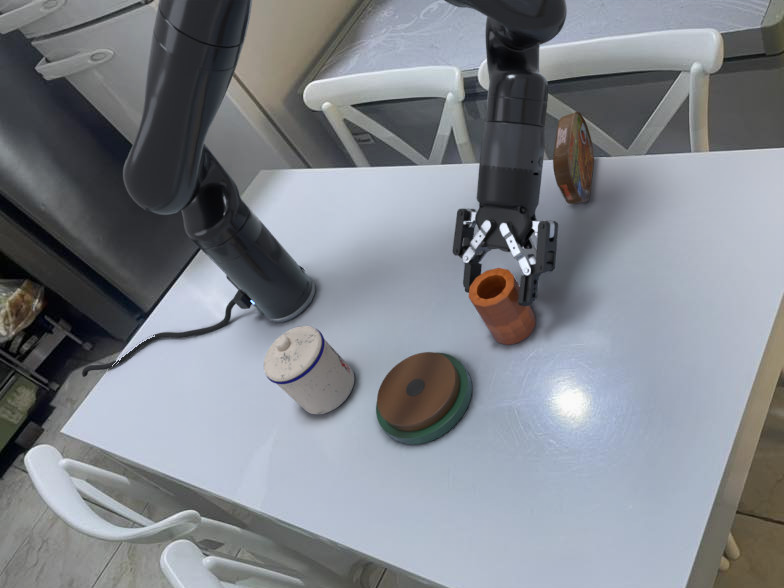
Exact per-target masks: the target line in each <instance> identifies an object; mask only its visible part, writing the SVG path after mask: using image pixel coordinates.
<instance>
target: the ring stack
mask: <svg viewBox="0 0 784 588" xmlns="http://www.w3.org/2000/svg"><path fill="white" fill-rule="evenodd" d="M472 394H473V383H472V378H471V376H470V374H469V372H468V370H467V369H466V368H465V366H464V365H463V363H462V361H460V360H459V359H458V358H456V357H455V356H453V355H451V354H448V353H445V352H437V351H436V352H433V351H425V352H419V353H416V354H412V355H410V356H408V357H406V358H404V359H403V360H401V361H400V362H398V363H397V364H395V366H393V367H392V368H391V370H389V372H388V373H387V374H386V376H385V377H384V378H383V379H382V382H381V383H380V386H379V388H378V392H377V396H376V405H375V415H376V419H377V423H378V424H379V426H380V427H381V429H382V430H383V431H384V432H385V433H386V434H387V435H388V436H389V437H390V438H391V439H392V440H394V441H396V442H398V443H401V444H405V445H422V444H426V443H429V442H432V441H435V440H437V439H439V438H441V437H442V436H444V435H445V434H447V433H448V432H449V431H451V429H453V428H454V427H455V426H456V425H457V424H458V423H459V421H461V419H462V418H463V416H464V415H465V413H466V411H467V410H468V407H469V405H470V402H471V400H472Z"/></svg>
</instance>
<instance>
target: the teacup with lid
mask: <svg viewBox="0 0 784 588" xmlns="http://www.w3.org/2000/svg"><path fill="white" fill-rule="evenodd" d="M263 371H264V374H265V376H266V378H267V380H269V381H270V382H271V383H273V384H275V385H277V386H278V387H279V388H280V389H281V390H282V391H284V392H285V393H286V394H287V395H288V396H289V397H291V399H292V400H293V401H294V402H296V403H297V404H298V405H299V406H300V407H301V408H302V409H303V410H304V411H306V412H307V413H309V414H312V415H324V414H327V413H330V412H332V411H334V410H336V409H337V408H339V407H340V406H341V405H342V404H343V403H344V402H345V401H347V398H348V397H349V396H350V394H351V392H352V390H353V388H354V385H355V373H354V371H353V369H352V367H351V366H350V364H348V363H347V361H345V359H344V358H343V357H342V356H341V355H340V354H339V353H338V352H337V351H336V350H335V348H333V347H332V345H331V344H330V343H329V342H328V341H327V340H326V339H325V337H324V335H323V333H322V332H321V331H320V330H319V329H317V328H315V327H312V326H309V325H301V326H296V327H293V328H290V329H289V330H287V331H285V332H284V333H282V334H281V335H280V336H278V337H276V339H275V340H274V341H273V343H272V344H271V345H270V347H269V348H268V349H267V352H266V354H265V356H264V360H263Z"/></svg>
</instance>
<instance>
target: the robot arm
mask: <svg viewBox="0 0 784 588" xmlns="http://www.w3.org/2000/svg"><path fill="white" fill-rule="evenodd" d="M443 1H444V2H446V3H448V4H449V5H451V6H454V7H455V8H461V9H472V10H475V11H477V12H479V13H481V14H482V15H484V16H485V17H486V19H485V20H486V21H485V51H486V52H485V53H486V54H485V55H486V68H487V74H488V89H487V98H486V99H487V100H486V109H485V119H484V120H485V123H484V128H483V132H482V136H481V142H480V153H479V166H478V175H477V176H478V177H477V187H476V188H477V189H476V201H477V202H478V206H479V207H478V209H477V210H476V209H475V208H458V209H457V212H456V219H455V228H454V234H453V242H452V250H451V251H452V254H453V256H455V257H459V258H460V259H461V260H462V261H463V263H464V267H463V280H462V284H463V288H464V291H465V293H467V294H469V288H470V286H471V284H472V283H473V281H474V280H475V278H476V277H478V276H479V275H481V274H482V269H483V263H481V261H482V260H483V259H484V258H485V256H486V255H487V254H488V252H490V251H492V250H500V251H502V252H504V253H511V254H512V257H513V259H514V260H516V261H517V262H518V265H519V267H520V270H521V271H522V273H523V274H521V275H520V280H519V281H520V282H519V286H520V290H519V299H518V304H519V305H520V306H530V307H531V306H532V305H533V304H534V302H536V300H537V298H538V290H539V289H538V288H539V281H540V276H541V275H542V274H545V273H551V272H554V271H555V270H556V267H557V266H556V264H557V251H558V237H559V235H558V234H559V223H558V222H557V221H556V220H551V219H550V220H538V219H537V216H536V210H537V209H538V206H539V204H540V195H541V185H542V178H543V177H542V175H543V165H544V157H545V129H546V128H545V127H546V120H547V119H546V118H547V110H548V101H549V85H548V80H547V78H546V77H545V76H544V75H543V74H542V73H540V47H541V45H543V44H546V43H548V42H550V41H551V40H553V39H554V38H555V37H557V36H558V35H559V34H560V33H561V31H562V29H563V28H564V25H565V23H566V20H567V17H568V16H567V14H568V7H567V6H568V5H567V0H443ZM252 6H253V0H158V6H157V10H156V14H155V19H154V24H153V30H152V36H151V44H150V49H149V50H150V52H149V58H148V64H147V72H146V81H145V90H144V101H143V109H142V115H141V118H140V119H141V120H140V122H139V126H138V129H137V131H136V135H135V138H134V141H133V143H132V146H131V147H130V150H129V152H128V155H127V157H126V159H125V162H124V165H123V167H122V168H123V169H122V179H123V183H124V187H125V189H126V191H127V194H128V195H129V196H130V198H131V199H132V200H133V201H134V203H136V204H137V206H139V207H140V208H142V209H143V210H144V211H146V212H149V213H151V214H154V215H159V216H161V215H162V216H169V215H173V214H176V213H179V212H181V215H182V219H183V227H184V231H185V233H186V235H187V236H188V238H189V239H190V240H191V241H192V242H193V244H195V245H196V246H197V247H198V248H199V249H200V250H201V252H203V253H204V254H205V255H206V256H207V257H208V259H210V260H211V261H212V262H213V263H214V264H215V266H217V267H218V268H219V269H220V271H222V272H223V273H224V274H225V275H226V276H225V277H226V279H227V280H228V281H229V282H230V283H231V285H233V287H235V289H237V291H236V293H235V295H234V296H233V298H232V299H231V300H230V301H229V302H228V303H227V305H226V307H225V314H224V318H223V319H222V320H221V321H220V322H218V323H216V324H214V325H211V326H207V327H203V328H198V329H191V330H186V331H181V332H173V331H172V332H171V331H164V332H158V333H155V334H153V336H154V335H155V337H152V338H150V339H147V340H146V341H144V342H142V343H141V344H139V345H138V346H137V347H135V348H134V349H133V350H132V351H130V352H129V353H128V354H126V355H125V356H124V357H122V358H121V360H120V361H119V360H118V361H117V362H116V360H117V359H115V360H113V361H110V362H108V363H104V364H92V365H87V366H85V367H84V368H83V369H82V371H81V376H82V378H85V377H87V376H88V374H89V372H91V371H103V370H108V369H109V370H110V369H112V368H114V367H116V366H118V365H120V364H121V363H124V361H126V360H127V359H129V358H130V357H131V356H133V355H134V354H135V353H136V352H138V351H139V350H140V349H142V348H143V347H145V346H146V345H148V344H150V343H151V342H153V341H156V340H159V339H162V338H175V339H180V338H182V339H183V338H189V337H192V336H199V335H204V334H209V333H212V332H215V331H217V330H220V329H221V328H223V327H225V326H226V325H227V324H228V323H229V322H230V321H231V318H232V310H233V309H234V306H235V305H237V306H238V307H239V308H240V309H241V310H249V309H251V307H252V306H253V307H254V308H255V309H256V310H257V311H258V312H259V313H260V314H261V315H262V316H265V317H266V318H267V319H268V320H269V321H270V322H273V323H284V322H285V323H286V322H288V321H291V320H292V319H294V318H296V317H298V316H299V315H301V313H303V312H304V311H305V310H307V308H308V307H309V305H311V303H312V301H313V299H314V297H315V294H316V284H315V282H314V281H313V279H312V278H311V277H310V276H308V275H307V271H306V269H304V267H303V266H301V265H300V264H298V262H297V261H296V260H295V259H294V258H293V257H292V256H291V254H290V253H289V252H288V251H287V250H286V248H284V246H283V245H282V244H281V243H280V241H278V239H277V238H276V237H275V236H274V235H273V234H272V233H271V231H270V229H268V228H267V227H266V225H265V224H264V223H263V222H262V220H260V219H259V217H258V216H257V215H256V214H255V212H254V211H253V210H252V209H251V208H250V207H249V206H248V205H247V204H246V203H245V201H244V200H243V198H242V196H241V194H240V193H241V192H240V189H239V188H238V185H237V184H236V182H235V181H234V179H233V178H232V176H231V175H230V174H229V173H228V171H227V170H226V169H225V167H224V166H223V165H222V164H221V162H220V161H219V160H218V159H217V157H216V156H215V155H214V153H213V152H212V151H211V150H210V148H209V147H208V146H207V145H206V144H205V141H206V138H207V136H208V132H209V130H210V128H211V126H212V124H213V121H214V120H215V118H216V115H217V114H218V111H219V109H220V107H221V105H222V102H223V100H224V98H225V96H226V94H227V92H228V89H229V87H230V84H231V82H232V79H233V77H234V75H235V72H236V69H237V66H238V63H239V61H240V57H241V54H242V49H243V47H244V44H245V41H246V36H247V32H248V28H249V24H250V18H251V12H252ZM476 226H477V228H478V231H477V232H476V234H475V230H476ZM533 234H534V236H535V237H536V246H535V244H534V241H533V239H532V236H533ZM115 362H116V363H115ZM118 362H119V363H118ZM114 363H115V364H114ZM117 363H118V364H117ZM113 364H114V365H113ZM116 364H117V365H116ZM112 365H113V367H112ZM115 365H116V366H115Z"/></svg>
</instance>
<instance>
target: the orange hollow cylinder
mask: <svg viewBox="0 0 784 588" xmlns="http://www.w3.org/2000/svg"><path fill="white" fill-rule="evenodd" d="M519 290H520V283H518V281H517V279H516V277H515V275H514V274H513V273H512V271H511V270H509V269H506V268H502V267H496V268H492V269H488V270H485V271H484V272H481V275H479V276H478V277H476V278H475V280H474V281H473V283H472V284H471V286H470V288H469V293H468V299H469V300H470V302H471V303H472V305H473V306H474V308H475V310H476V312H477V313H478V315H479V317H480V318H481V320H482V321H483V323H484V324H485V326H486V328H487V329H488V330H489V333H490V334H491V336H492V337H493V338H494V339H495V341H496V342H497V343H498V344H502V345H506V346H509V345H515V344H519V343H521V342H522V341H524V340H525V339H527V338H529V337H530V335H531V334H532V332H533V331H534V329H535V328H536V318H537V317H536V315H535V312H534V311H533V309H532V307H531V306H520V305H519V304H518V299H519Z"/></svg>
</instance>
